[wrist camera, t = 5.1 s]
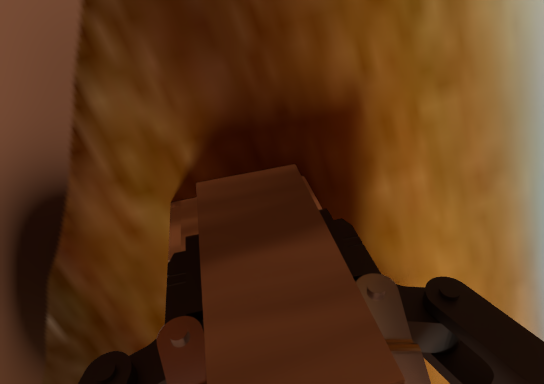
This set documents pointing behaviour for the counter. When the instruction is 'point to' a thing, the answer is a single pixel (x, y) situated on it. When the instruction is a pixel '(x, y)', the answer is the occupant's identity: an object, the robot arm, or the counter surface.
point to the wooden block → (281, 289)
